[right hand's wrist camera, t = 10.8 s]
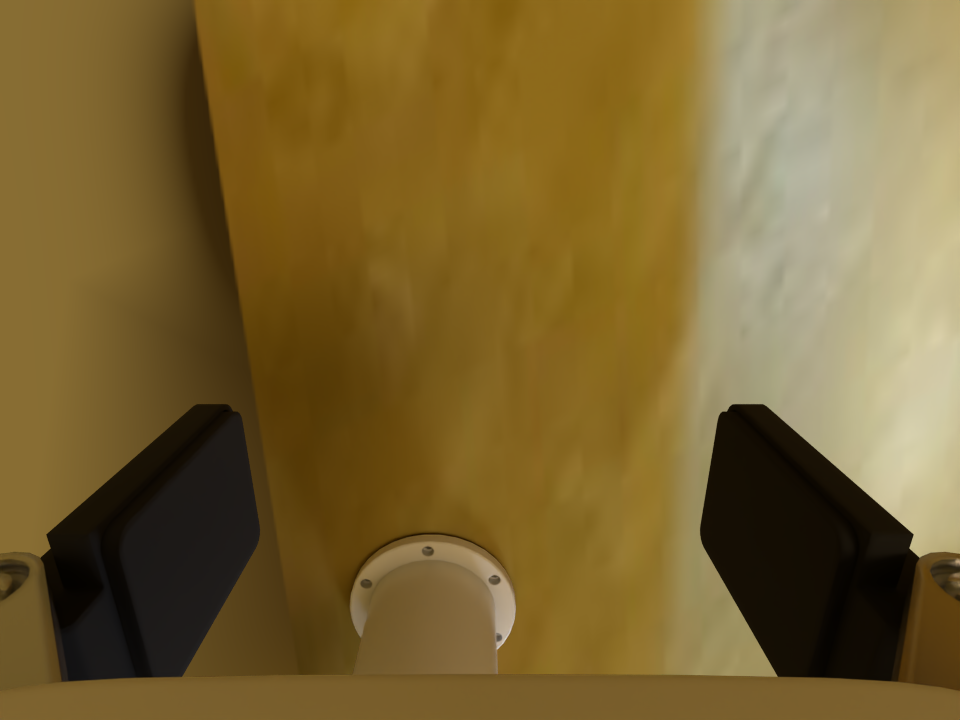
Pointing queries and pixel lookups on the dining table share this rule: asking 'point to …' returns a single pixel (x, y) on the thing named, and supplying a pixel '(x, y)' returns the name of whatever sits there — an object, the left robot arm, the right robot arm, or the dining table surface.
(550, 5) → the dining table surface
